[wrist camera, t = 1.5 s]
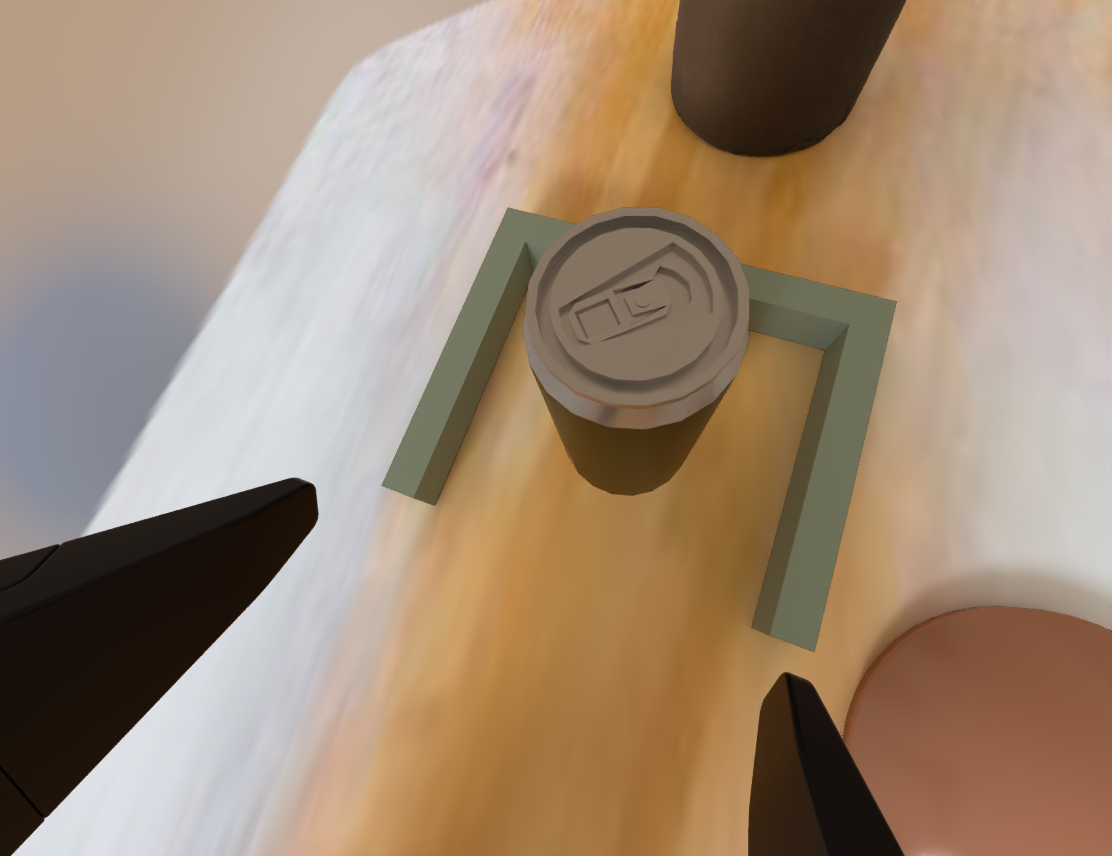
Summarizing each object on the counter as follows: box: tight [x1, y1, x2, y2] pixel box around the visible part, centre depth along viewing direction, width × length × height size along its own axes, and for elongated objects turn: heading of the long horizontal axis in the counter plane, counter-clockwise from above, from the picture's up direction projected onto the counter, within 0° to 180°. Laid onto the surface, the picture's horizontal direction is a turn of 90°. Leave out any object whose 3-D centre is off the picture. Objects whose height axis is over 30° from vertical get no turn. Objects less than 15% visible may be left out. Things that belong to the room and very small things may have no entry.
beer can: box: [523, 207, 749, 496], centre depth 17 cm, size 5×5×12 cm
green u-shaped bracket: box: [382, 208, 897, 652], centre depth 22 cm, size 14×17×2 cm
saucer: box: [843, 606, 1112, 856], centre depth 17 cm, size 13×13×1 cm
